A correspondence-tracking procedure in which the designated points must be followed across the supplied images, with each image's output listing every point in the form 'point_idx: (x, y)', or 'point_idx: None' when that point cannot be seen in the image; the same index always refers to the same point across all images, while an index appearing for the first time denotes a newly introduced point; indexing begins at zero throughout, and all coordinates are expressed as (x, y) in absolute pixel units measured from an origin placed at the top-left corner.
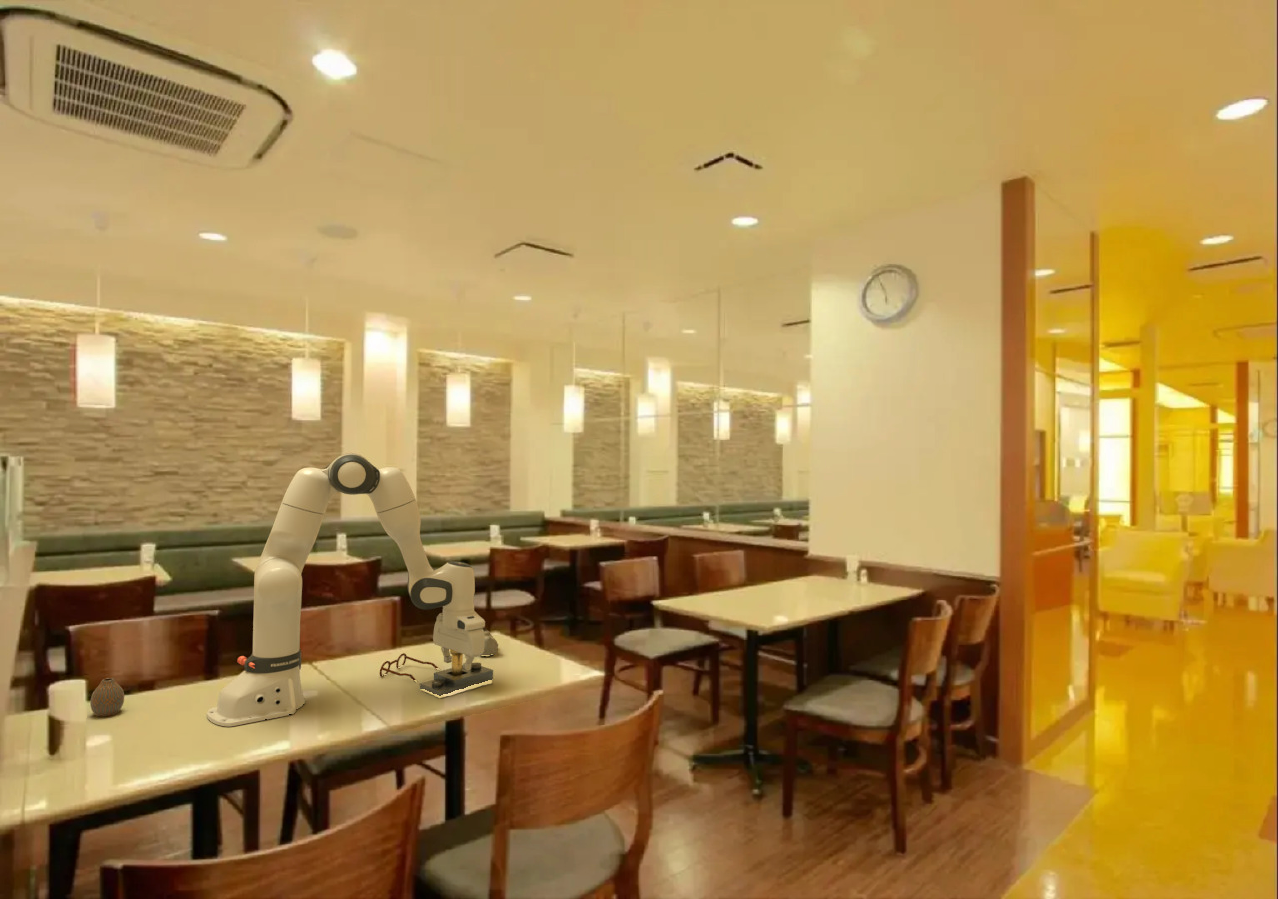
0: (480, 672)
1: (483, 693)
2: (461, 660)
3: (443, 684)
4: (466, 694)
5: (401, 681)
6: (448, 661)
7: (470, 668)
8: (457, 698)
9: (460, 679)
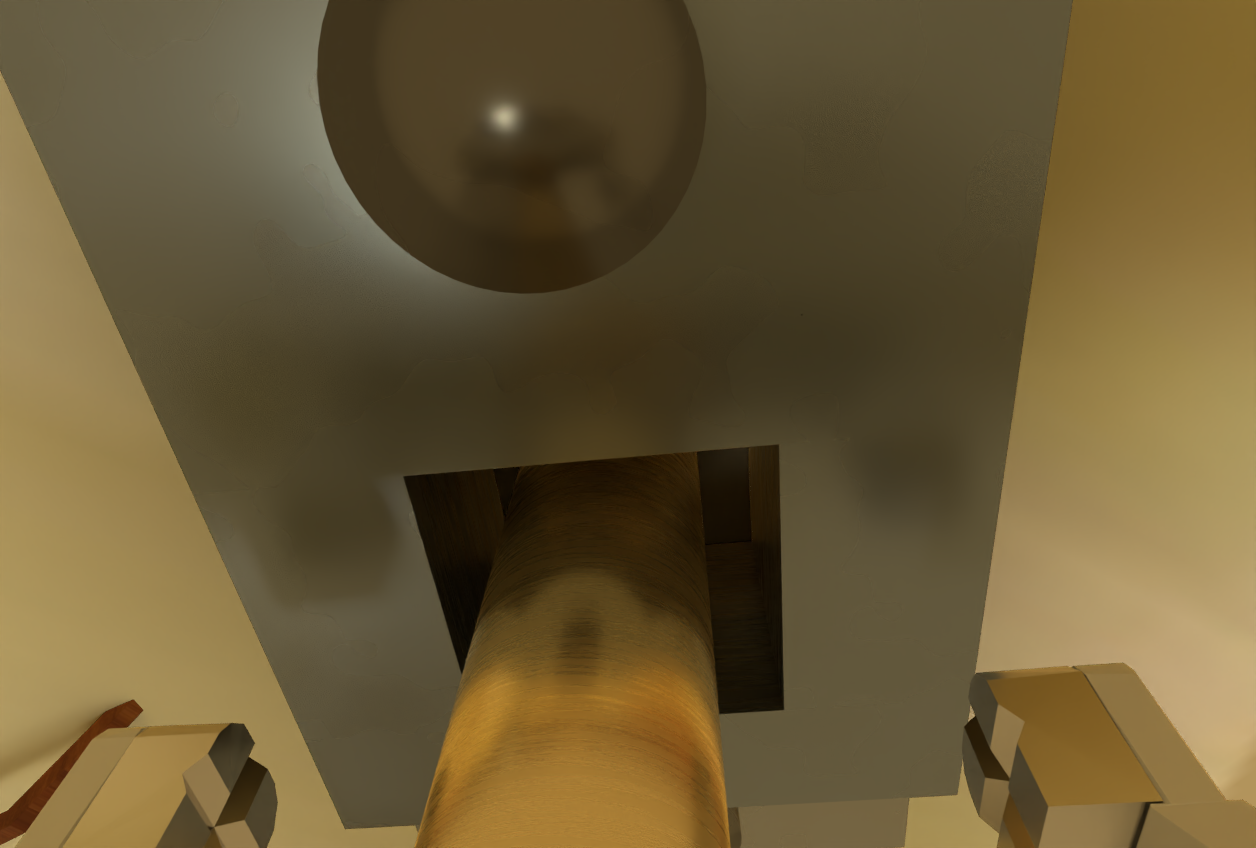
0: (969, 199)
1: (1210, 284)
2: (717, 838)
3: None
4: (1006, 495)
5: (20, 794)
6: (248, 802)
7: (1124, 682)
8: (1028, 636)
9: (964, 695)
